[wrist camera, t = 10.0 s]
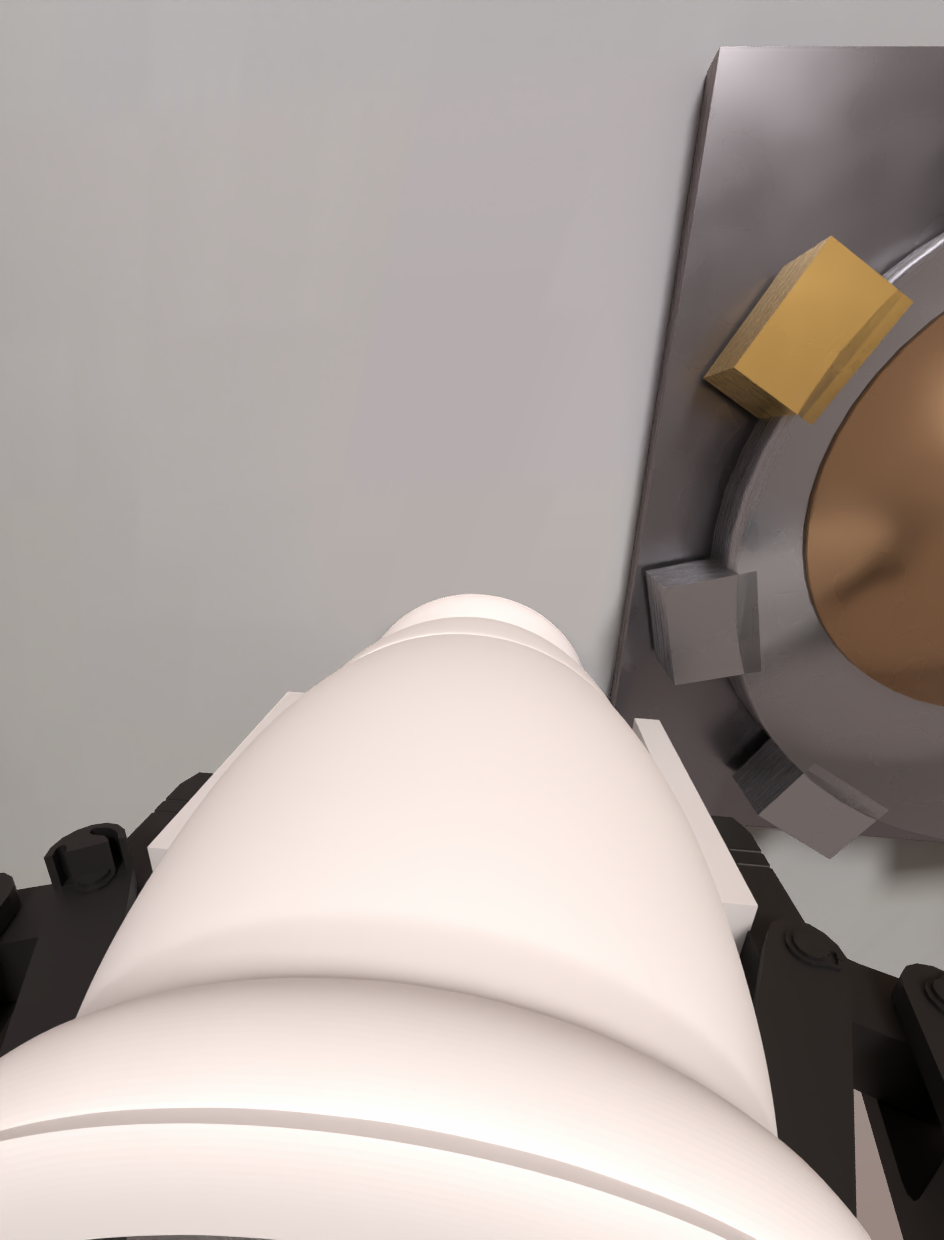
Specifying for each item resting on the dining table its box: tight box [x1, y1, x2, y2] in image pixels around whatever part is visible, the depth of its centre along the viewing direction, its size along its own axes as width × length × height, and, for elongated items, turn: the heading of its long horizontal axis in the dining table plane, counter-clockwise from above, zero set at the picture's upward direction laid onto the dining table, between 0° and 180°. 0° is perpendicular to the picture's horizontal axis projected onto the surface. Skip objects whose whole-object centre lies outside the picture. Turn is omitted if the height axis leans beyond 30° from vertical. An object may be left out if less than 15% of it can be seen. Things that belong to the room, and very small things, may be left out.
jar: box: [0, 594, 872, 1240], centre depth 12 cm, size 11×10×15 cm
